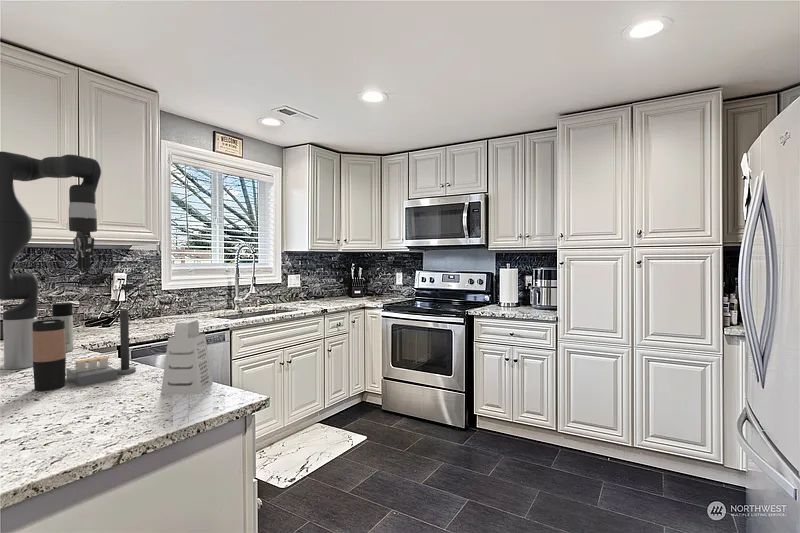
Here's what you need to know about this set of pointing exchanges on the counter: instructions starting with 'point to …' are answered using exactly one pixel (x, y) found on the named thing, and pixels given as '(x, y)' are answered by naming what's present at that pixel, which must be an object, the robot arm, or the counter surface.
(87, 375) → the breaker panel
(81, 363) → the breaker paddles
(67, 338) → the spray can
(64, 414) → the counter surface
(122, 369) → the stand
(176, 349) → the grater
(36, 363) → the travel mug
